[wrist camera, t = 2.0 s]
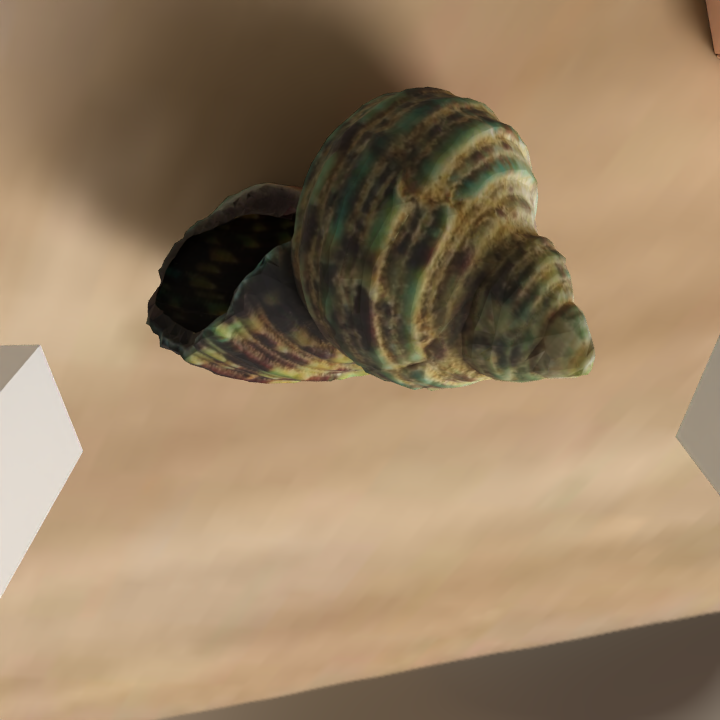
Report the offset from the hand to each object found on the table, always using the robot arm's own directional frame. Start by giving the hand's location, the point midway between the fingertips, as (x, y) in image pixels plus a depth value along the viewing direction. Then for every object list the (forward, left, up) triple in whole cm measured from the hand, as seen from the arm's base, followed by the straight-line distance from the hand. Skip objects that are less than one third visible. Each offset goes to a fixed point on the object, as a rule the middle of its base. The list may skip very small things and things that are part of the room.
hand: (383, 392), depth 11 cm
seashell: (0, 0, -12) cm, 12 cm away
